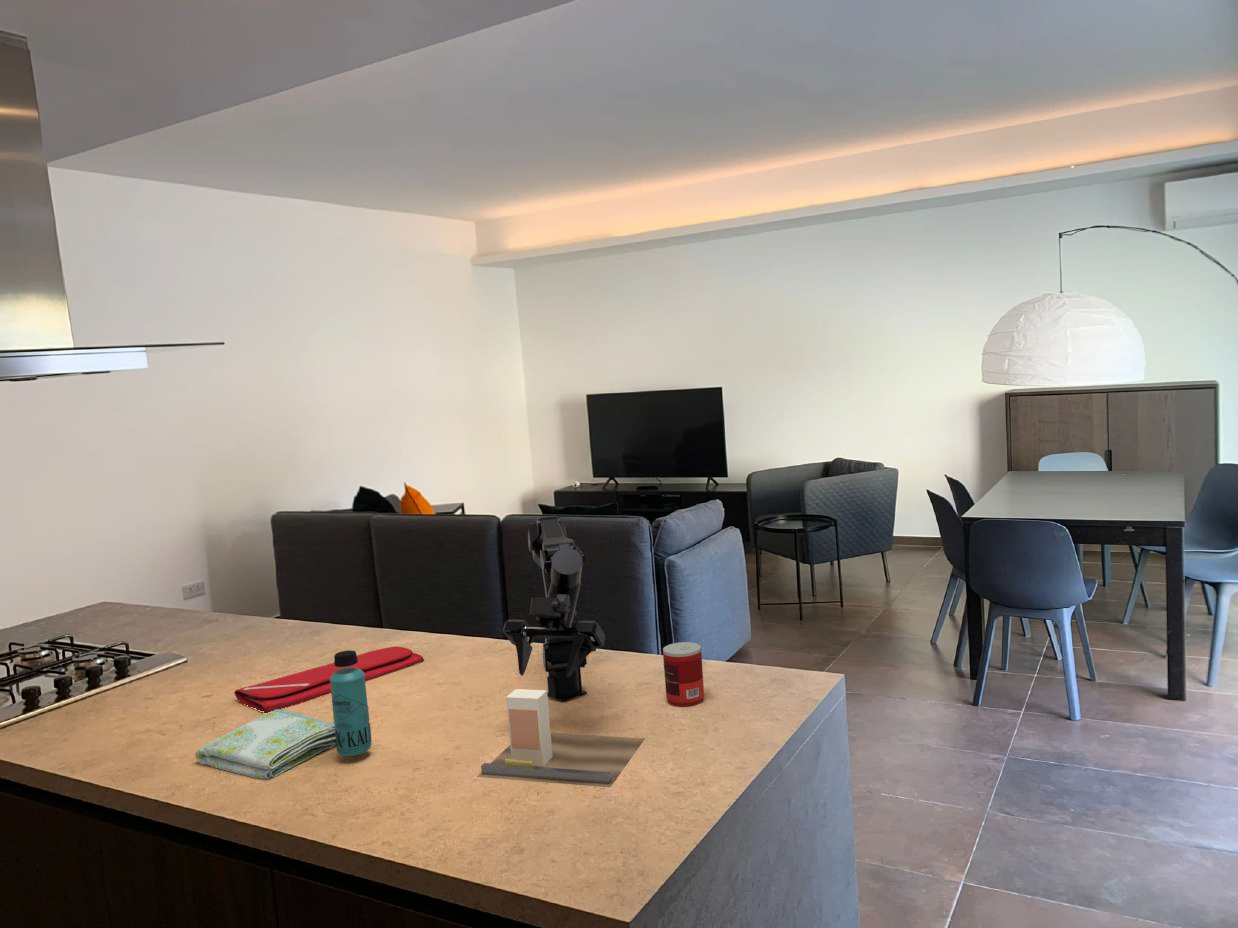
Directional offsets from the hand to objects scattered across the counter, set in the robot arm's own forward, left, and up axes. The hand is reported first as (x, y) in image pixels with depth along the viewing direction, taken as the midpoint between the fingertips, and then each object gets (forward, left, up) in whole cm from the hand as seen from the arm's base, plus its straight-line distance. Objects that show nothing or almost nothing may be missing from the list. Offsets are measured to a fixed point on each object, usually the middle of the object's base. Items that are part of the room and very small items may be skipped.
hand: (544, 675), depth 163 cm
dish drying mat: (+12, -73, -14) cm, 75 cm away
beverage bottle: (+27, -25, -14) cm, 39 cm away
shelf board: (+2, +7, -13) cm, 16 cm away
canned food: (-32, +2, -14) cm, 35 cm away
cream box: (+7, +4, -12) cm, 15 cm away
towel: (+37, -40, -14) cm, 56 cm away
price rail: (+9, +12, -12) cm, 20 cm away
